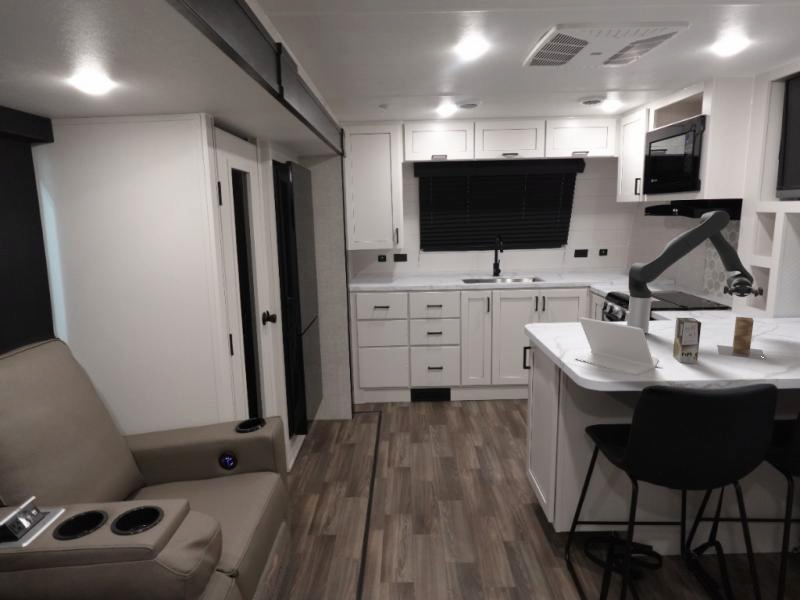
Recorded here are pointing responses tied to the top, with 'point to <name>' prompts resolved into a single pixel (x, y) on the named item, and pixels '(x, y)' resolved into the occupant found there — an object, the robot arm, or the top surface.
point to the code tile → (728, 351)
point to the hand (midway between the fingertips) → (743, 293)
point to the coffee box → (686, 340)
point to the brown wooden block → (742, 335)
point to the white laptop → (617, 347)
